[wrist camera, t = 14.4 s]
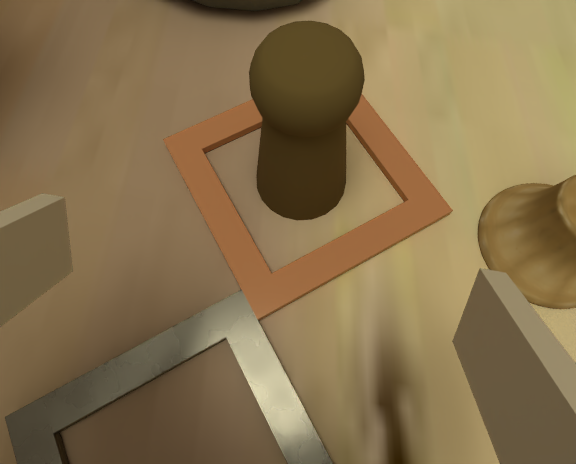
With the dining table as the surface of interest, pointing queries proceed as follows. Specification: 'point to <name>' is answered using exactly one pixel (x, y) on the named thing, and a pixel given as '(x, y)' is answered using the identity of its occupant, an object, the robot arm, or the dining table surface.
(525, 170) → the dining table surface
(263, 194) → the cork
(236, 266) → the frame
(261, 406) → the frame
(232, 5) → the pie
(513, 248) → the hand bell
